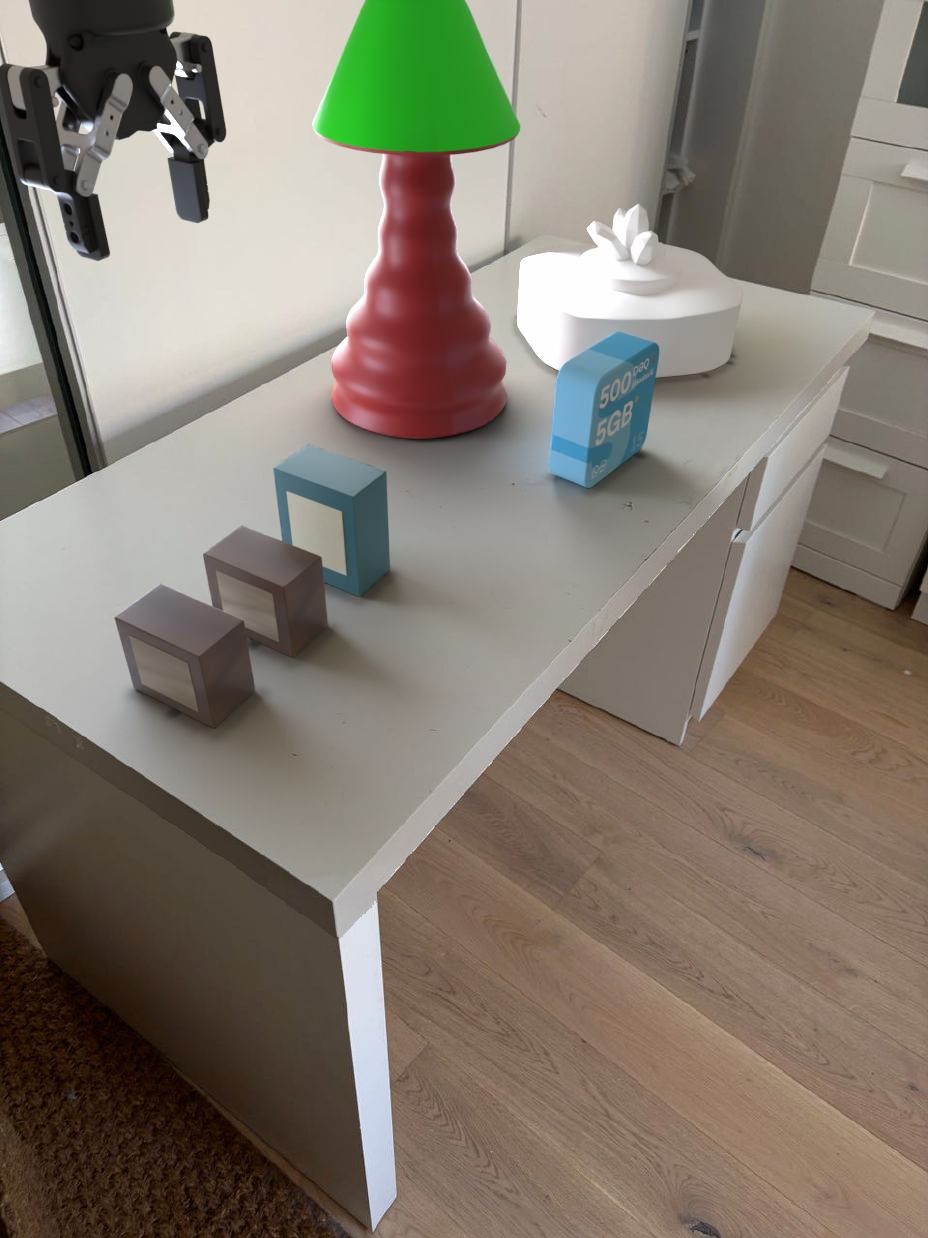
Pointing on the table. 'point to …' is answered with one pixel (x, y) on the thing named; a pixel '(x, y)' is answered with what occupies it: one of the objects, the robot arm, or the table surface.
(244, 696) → the walnut block
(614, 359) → the data package
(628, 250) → the crystal-topped trinket box
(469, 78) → the table lamp
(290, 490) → the teal block
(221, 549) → the walnut block
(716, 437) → the table surface
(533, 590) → the table surface
